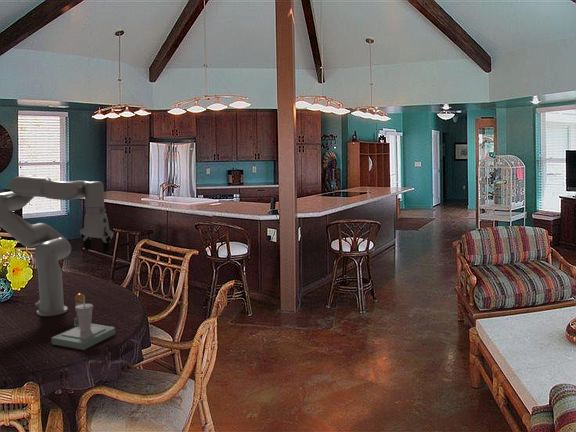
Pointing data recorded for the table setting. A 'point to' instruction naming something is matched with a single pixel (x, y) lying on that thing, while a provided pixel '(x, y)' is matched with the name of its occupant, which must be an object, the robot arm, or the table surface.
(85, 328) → the smoothie
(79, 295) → the lever
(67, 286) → the table surface
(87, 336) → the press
